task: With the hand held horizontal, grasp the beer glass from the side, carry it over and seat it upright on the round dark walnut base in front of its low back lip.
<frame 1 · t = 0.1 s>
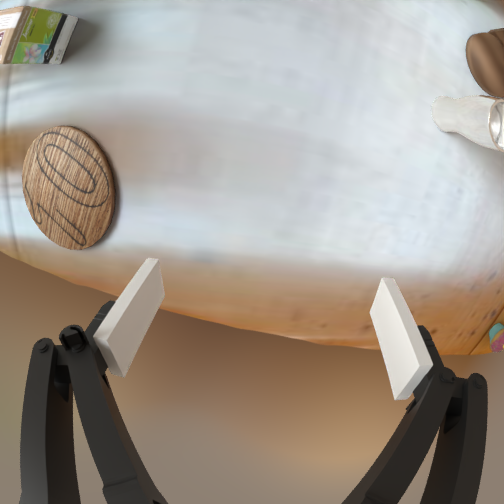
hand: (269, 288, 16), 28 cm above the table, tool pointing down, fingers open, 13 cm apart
walnut base: (489, 64, 25), on the table
tea box: (47, 38, 29), on the table
trivet: (66, 188, 44), on the table
cupcake: (494, 328, 52), on the table
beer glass: (444, 113, 32), on the table
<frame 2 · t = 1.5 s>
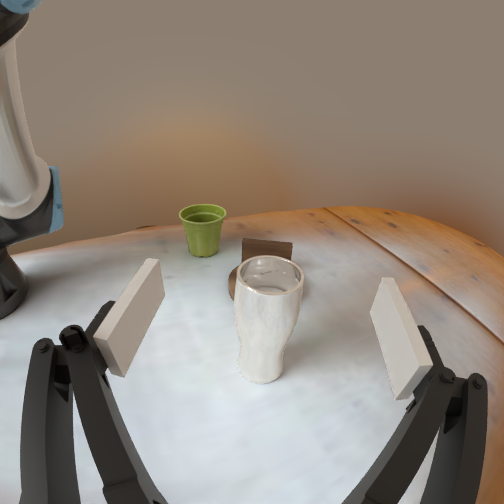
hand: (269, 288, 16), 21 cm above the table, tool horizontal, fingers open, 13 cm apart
plant pot: (204, 251, 59), on the table
walnut base: (263, 289, 49), on the table
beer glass: (260, 366, 35), on the table
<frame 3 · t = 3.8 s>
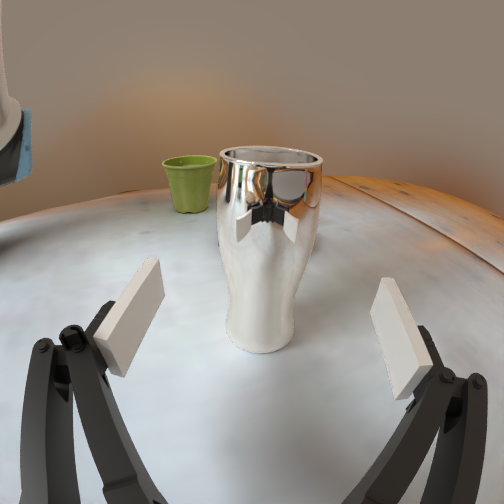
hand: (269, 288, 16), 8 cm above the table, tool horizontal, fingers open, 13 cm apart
plant pot: (191, 208, 49), on the table
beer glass: (259, 329, 25), on the table
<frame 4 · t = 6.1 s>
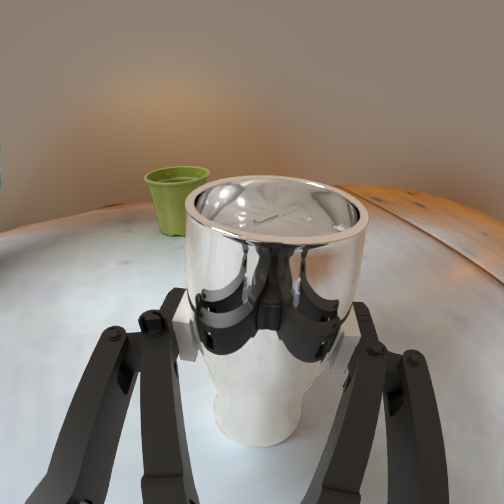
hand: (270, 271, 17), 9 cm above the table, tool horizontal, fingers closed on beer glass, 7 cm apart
plant pot: (180, 229, 42), on the table
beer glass: (257, 412, 17), on the table, touching gripper
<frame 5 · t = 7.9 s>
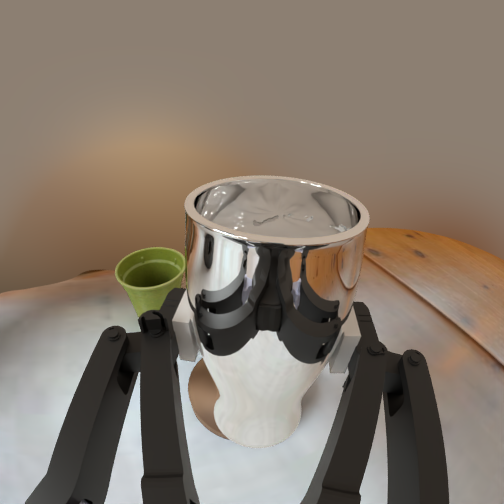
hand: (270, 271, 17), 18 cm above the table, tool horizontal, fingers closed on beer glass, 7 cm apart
plant pot: (160, 317, 38), on the table
walnut base: (245, 394, 28), on the table
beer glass: (257, 412, 17), point 9 cm above the table, touching gripper
when the fingers open (12 cm above the table, at t = 9.8 s): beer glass drops 1 cm, resting on walnut base.
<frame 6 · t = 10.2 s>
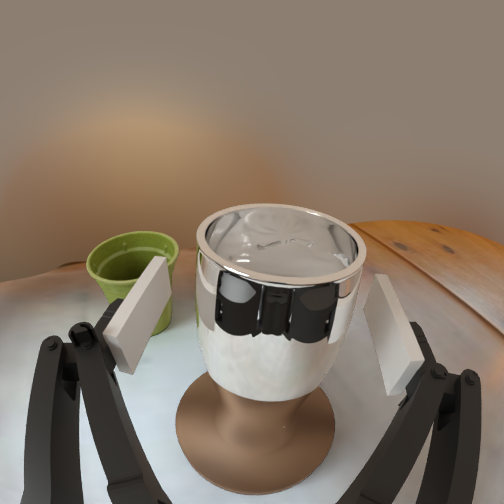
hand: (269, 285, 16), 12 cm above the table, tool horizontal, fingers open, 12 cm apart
plant pot: (146, 320, 30), on the table
walnut base: (254, 429, 19), on the table
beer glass: (256, 420, 18), point 2 cm above the table, touching walnut base
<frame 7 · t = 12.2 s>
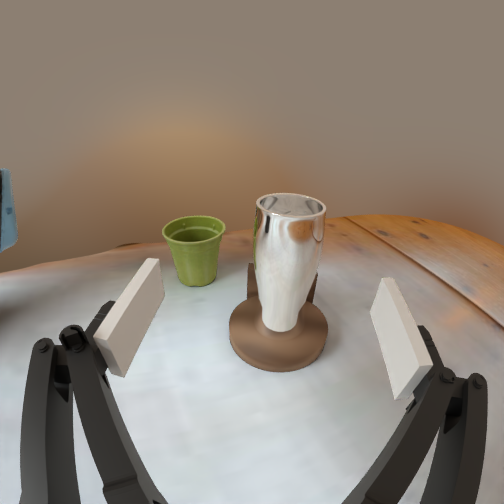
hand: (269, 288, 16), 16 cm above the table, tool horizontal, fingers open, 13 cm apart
plant pot: (197, 277, 45), on the table
walnut base: (277, 334, 34), on the table
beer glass: (279, 324, 33), point 2 cm above the table, touching walnut base
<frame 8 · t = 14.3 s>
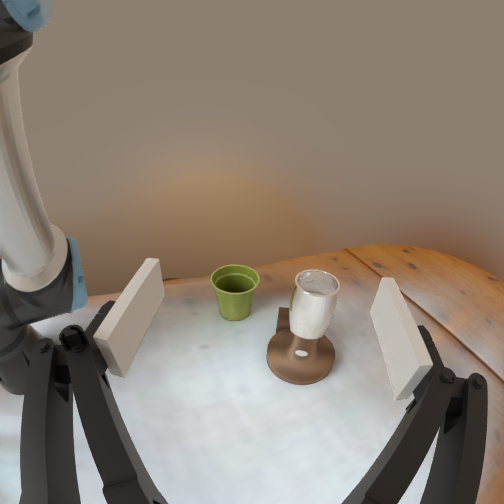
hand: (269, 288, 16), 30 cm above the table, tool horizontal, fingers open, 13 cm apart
plant pot: (234, 312, 58), on the table
walnut base: (299, 357, 47), on the table
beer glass: (301, 351, 46), point 2 cm above the table, touching walnut base
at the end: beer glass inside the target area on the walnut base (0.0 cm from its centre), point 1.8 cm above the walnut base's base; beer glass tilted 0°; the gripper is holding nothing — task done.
